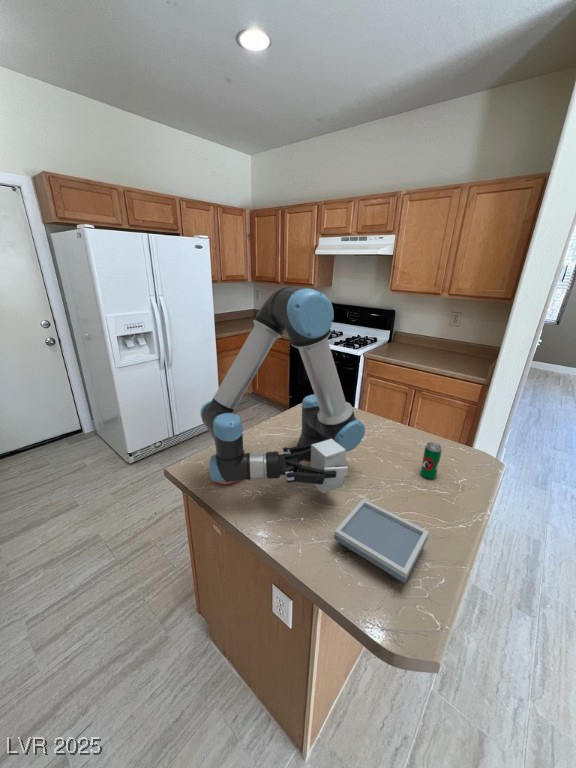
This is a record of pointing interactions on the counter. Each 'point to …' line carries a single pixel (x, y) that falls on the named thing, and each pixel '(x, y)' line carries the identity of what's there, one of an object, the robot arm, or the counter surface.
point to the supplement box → (328, 462)
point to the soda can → (431, 460)
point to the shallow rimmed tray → (382, 539)
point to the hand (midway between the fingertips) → (342, 460)
